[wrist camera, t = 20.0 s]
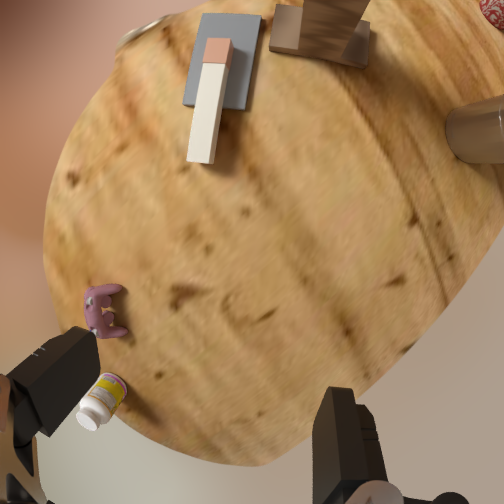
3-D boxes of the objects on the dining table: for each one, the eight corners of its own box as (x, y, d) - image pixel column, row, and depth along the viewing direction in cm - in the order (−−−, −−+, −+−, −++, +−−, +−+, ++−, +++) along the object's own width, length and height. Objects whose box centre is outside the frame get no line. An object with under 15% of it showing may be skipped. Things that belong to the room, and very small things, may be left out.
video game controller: (109, 277, 49) (76, 287, 43) (123, 283, 47) (88, 295, 41) (116, 326, 51) (87, 339, 46) (130, 335, 49) (99, 349, 43)
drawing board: (261, 18, 35) (261, 15, 34) (245, 110, 39) (244, 108, 38) (204, 16, 35) (202, 13, 34) (184, 105, 39) (182, 104, 38)
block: (234, 47, 36) (230, 38, 32) (214, 164, 40) (208, 163, 37) (212, 46, 36) (207, 37, 33) (192, 161, 40) (185, 160, 37)
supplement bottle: (114, 398, 55) (87, 435, 42) (95, 374, 54) (65, 410, 41) (134, 392, 53) (108, 433, 41) (115, 368, 52) (84, 407, 40)
